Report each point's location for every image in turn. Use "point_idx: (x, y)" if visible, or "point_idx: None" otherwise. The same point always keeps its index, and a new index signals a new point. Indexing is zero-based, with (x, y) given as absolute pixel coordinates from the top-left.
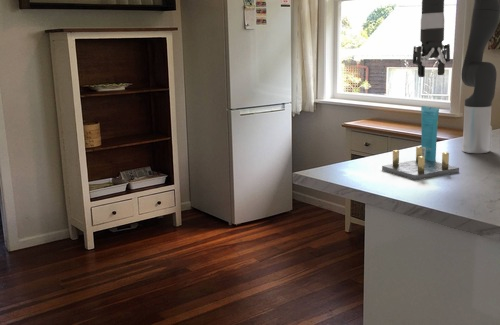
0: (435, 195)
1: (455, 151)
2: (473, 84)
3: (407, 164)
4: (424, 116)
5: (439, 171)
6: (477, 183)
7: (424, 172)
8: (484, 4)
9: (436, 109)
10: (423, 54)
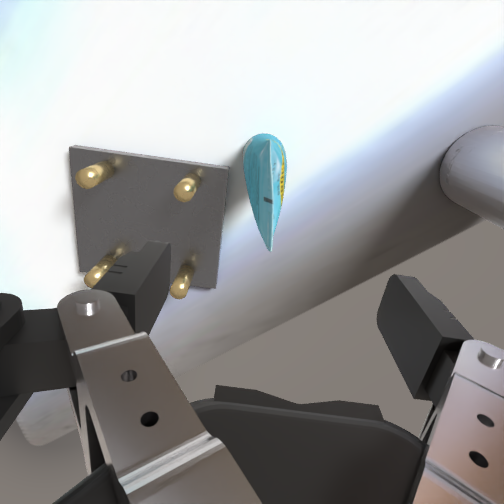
0: None
1: (444, 121)
2: None
3: (139, 185)
4: (254, 167)
5: None
6: (172, 349)
7: None
8: None
9: (264, 237)
10: (145, 432)
